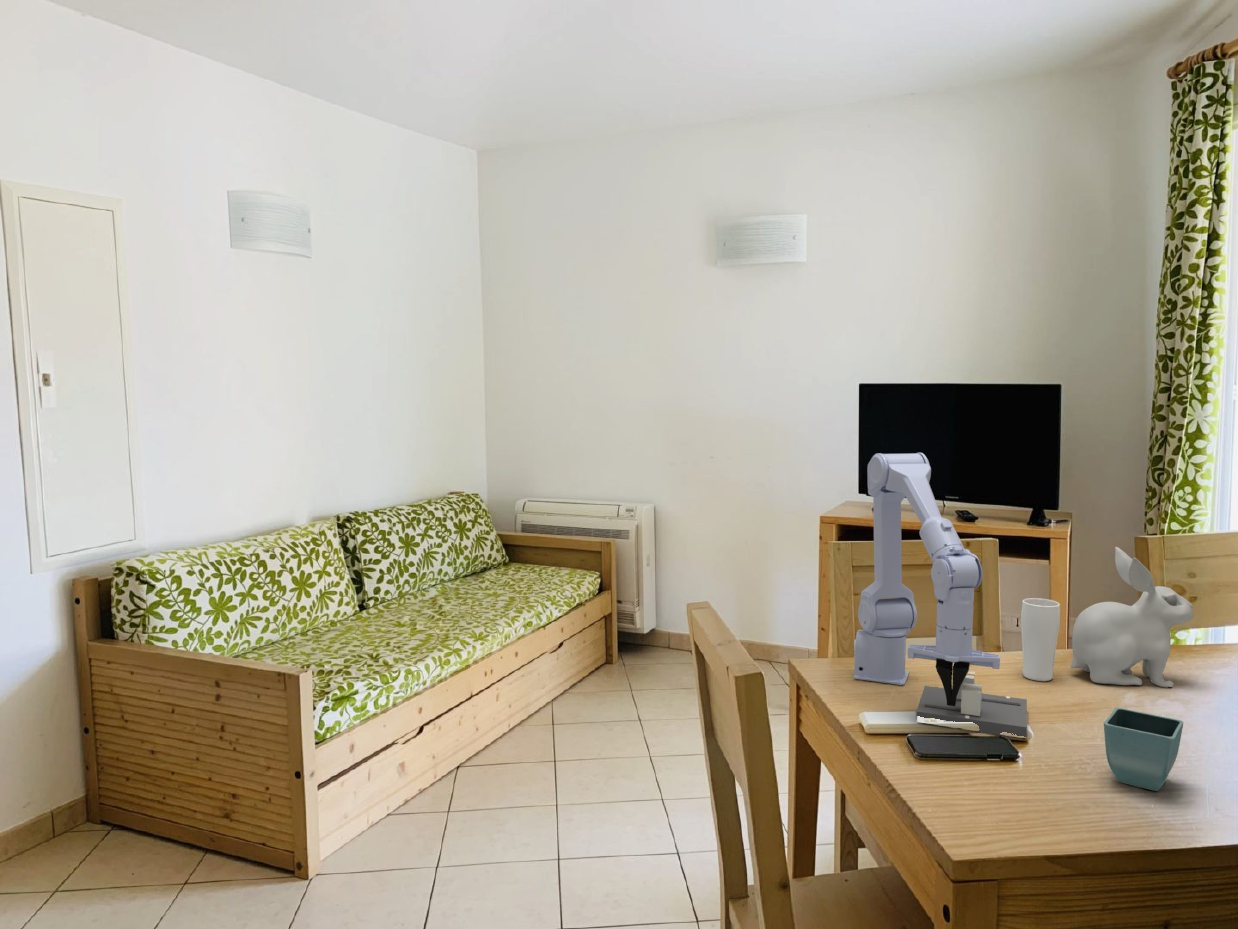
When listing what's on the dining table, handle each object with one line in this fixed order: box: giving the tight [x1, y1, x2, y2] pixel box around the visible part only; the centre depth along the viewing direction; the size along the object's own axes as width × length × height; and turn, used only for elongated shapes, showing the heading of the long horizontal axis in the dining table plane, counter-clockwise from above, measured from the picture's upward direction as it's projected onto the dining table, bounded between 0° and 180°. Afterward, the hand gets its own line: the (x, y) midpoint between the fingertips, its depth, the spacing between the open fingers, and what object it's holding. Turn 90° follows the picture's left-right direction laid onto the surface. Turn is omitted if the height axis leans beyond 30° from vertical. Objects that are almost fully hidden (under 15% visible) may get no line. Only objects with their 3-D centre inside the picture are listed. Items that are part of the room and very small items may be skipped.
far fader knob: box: [956, 670, 976, 700], centre depth 159 cm, size 3×4×4 cm
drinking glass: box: [1020, 597, 1061, 682], centre depth 175 cm, size 7×7×15 cm
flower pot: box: [1103, 707, 1184, 792], centre depth 130 cm, size 9×9×9 cm
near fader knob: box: [961, 683, 983, 716], centre depth 152 cm, size 3×4×4 cm
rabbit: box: [1070, 546, 1194, 688], centre depth 173 cm, size 12×21×25 cm, turn 77°
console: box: [915, 685, 1028, 738], centre depth 155 cm, size 17×14×2 cm
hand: (951, 704), depth 153 cm, fingers closed
